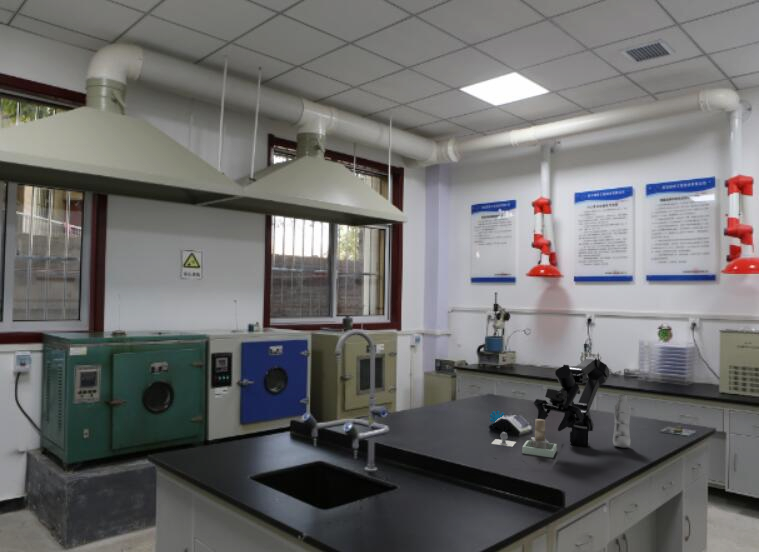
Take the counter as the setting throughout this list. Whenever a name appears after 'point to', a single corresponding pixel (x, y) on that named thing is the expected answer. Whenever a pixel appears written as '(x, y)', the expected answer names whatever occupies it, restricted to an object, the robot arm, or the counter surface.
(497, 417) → the blue lobed toy
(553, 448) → the tray
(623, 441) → the plastic bottle
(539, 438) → the stamp
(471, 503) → the counter surface
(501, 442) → the stud plate
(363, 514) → the counter surface
